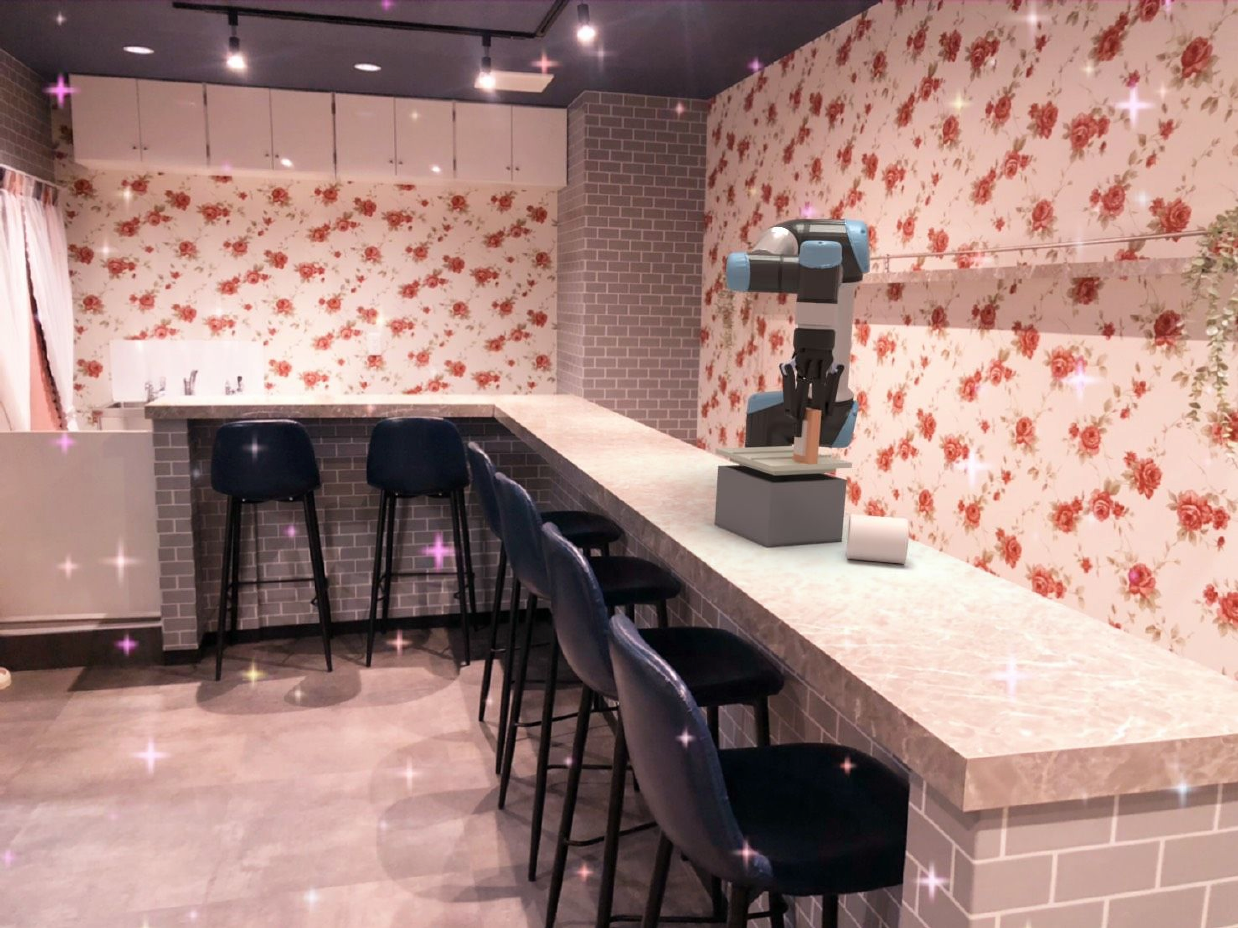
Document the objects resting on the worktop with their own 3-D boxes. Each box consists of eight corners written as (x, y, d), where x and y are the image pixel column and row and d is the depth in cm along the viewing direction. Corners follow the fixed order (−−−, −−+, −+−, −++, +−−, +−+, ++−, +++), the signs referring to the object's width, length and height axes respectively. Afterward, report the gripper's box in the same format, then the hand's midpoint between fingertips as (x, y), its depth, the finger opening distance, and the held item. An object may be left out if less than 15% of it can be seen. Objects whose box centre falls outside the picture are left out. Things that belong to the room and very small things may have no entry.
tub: (785, 519, 206) (789, 463, 204) (841, 541, 189) (846, 479, 187) (714, 524, 199) (718, 465, 197) (766, 547, 182) (771, 483, 180)
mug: (905, 569, 171) (910, 524, 170) (847, 563, 173) (850, 519, 172) (900, 552, 183) (904, 510, 182) (845, 547, 185) (849, 505, 184)
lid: (790, 456, 205) (794, 398, 202) (851, 474, 187) (856, 410, 185) (715, 459, 197) (718, 398, 195) (771, 477, 179) (775, 411, 177)
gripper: (835, 327, 187) (826, 450, 191) (768, 325, 181) (760, 452, 185) (861, 329, 180) (850, 456, 184) (792, 327, 174) (783, 459, 178)
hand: (805, 454), depth 185 cm, fingers closed on lid, 2 cm apart
